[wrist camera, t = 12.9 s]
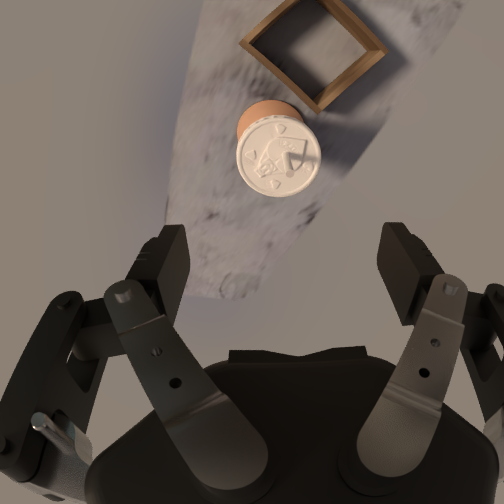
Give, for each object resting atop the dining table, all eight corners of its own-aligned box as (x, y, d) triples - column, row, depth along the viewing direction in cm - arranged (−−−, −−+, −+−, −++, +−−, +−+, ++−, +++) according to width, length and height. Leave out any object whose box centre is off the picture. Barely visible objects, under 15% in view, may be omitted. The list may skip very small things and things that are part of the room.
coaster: (270, 86, 28) (270, 86, 28) (318, 132, 31) (319, 133, 30) (223, 133, 31) (223, 134, 31) (272, 176, 34) (272, 177, 33)
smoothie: (317, 139, 31) (352, 189, 19) (268, 173, 33) (272, 242, 21) (280, 90, 28) (294, 106, 16) (230, 127, 30) (208, 170, 19)
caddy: (307, -13, 22) (313, -23, 19) (375, 52, 25) (389, 51, 22) (241, 46, 26) (238, 43, 23) (311, 108, 29) (317, 114, 26)
